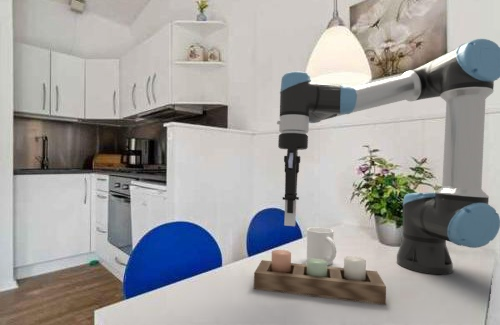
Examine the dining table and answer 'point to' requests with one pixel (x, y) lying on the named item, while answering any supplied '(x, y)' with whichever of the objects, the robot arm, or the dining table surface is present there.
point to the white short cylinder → (354, 268)
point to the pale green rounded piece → (317, 267)
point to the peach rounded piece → (281, 261)
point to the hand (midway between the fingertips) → (289, 225)
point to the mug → (321, 244)
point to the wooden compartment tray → (321, 283)
